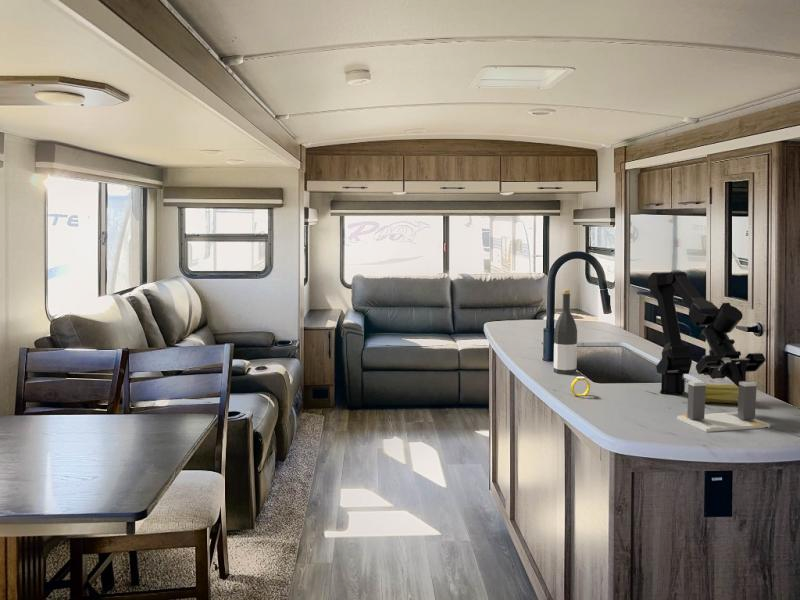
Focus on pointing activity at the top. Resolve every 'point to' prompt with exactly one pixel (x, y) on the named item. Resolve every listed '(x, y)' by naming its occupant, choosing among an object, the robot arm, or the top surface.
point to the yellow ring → (574, 384)
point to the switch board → (723, 422)
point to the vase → (721, 393)
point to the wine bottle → (565, 340)
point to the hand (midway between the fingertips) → (743, 389)
